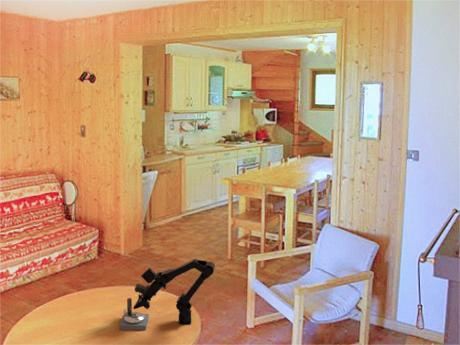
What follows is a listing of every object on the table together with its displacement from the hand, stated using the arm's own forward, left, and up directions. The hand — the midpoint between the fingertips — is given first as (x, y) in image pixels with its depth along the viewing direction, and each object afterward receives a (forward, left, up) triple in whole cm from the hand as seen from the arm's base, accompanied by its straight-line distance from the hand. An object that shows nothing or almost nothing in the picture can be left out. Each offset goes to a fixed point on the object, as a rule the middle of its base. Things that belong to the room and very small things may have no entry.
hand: (133, 308), depth 278 cm
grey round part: (0, +3, -5) cm, 5 cm away
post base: (-1, +3, -7) cm, 8 cm away
